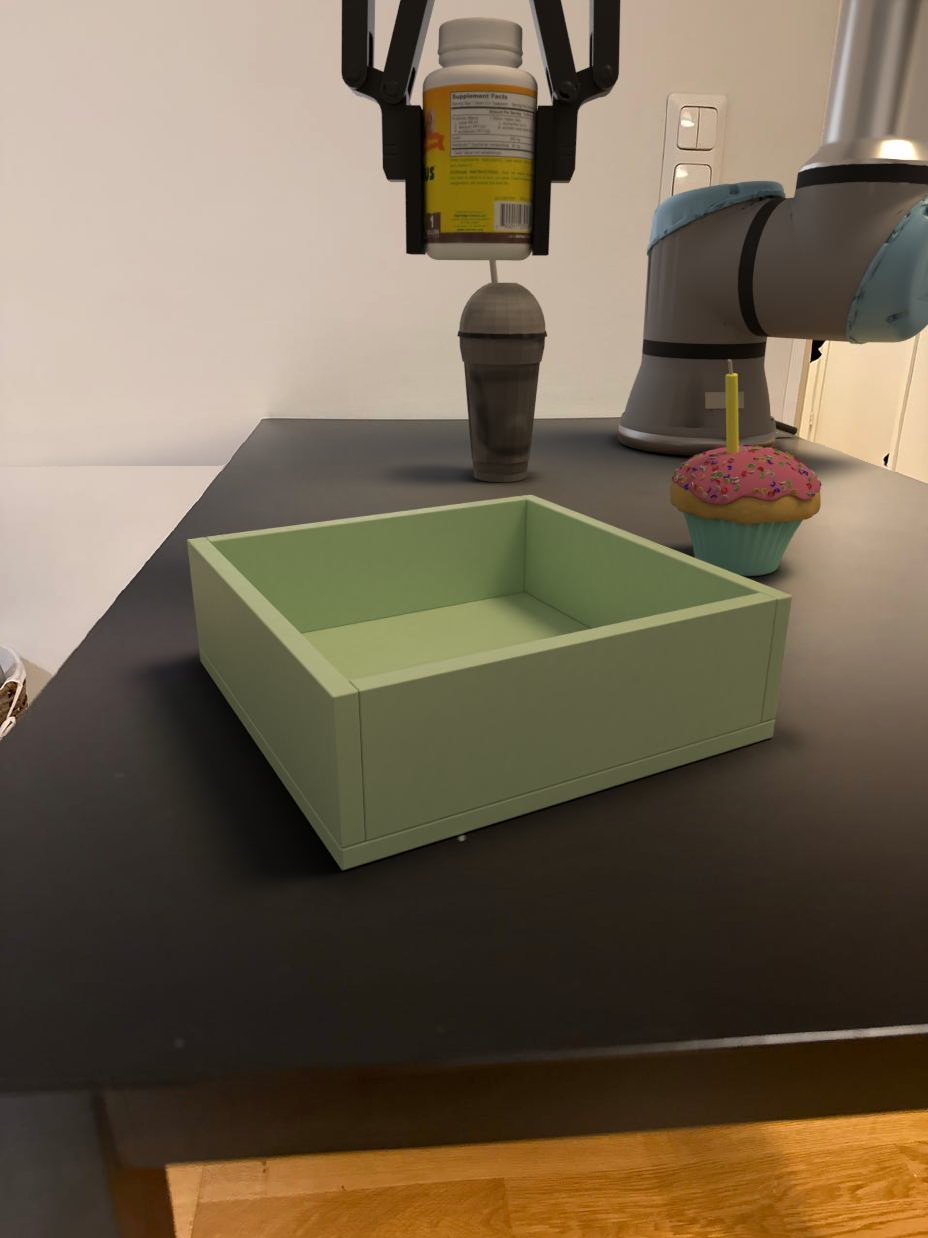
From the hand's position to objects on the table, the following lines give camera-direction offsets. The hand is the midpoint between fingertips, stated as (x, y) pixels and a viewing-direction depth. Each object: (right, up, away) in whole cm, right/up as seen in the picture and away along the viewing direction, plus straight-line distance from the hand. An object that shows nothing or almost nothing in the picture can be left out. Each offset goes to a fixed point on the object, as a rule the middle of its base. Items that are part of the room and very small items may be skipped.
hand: (477, 253), depth 47 cm
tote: (-1, -22, -8) cm, 23 cm away
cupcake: (+16, -15, +9) cm, 24 cm away
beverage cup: (+2, -7, +32) cm, 32 cm away
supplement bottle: (0, 0, 0) cm, 1 cm away
